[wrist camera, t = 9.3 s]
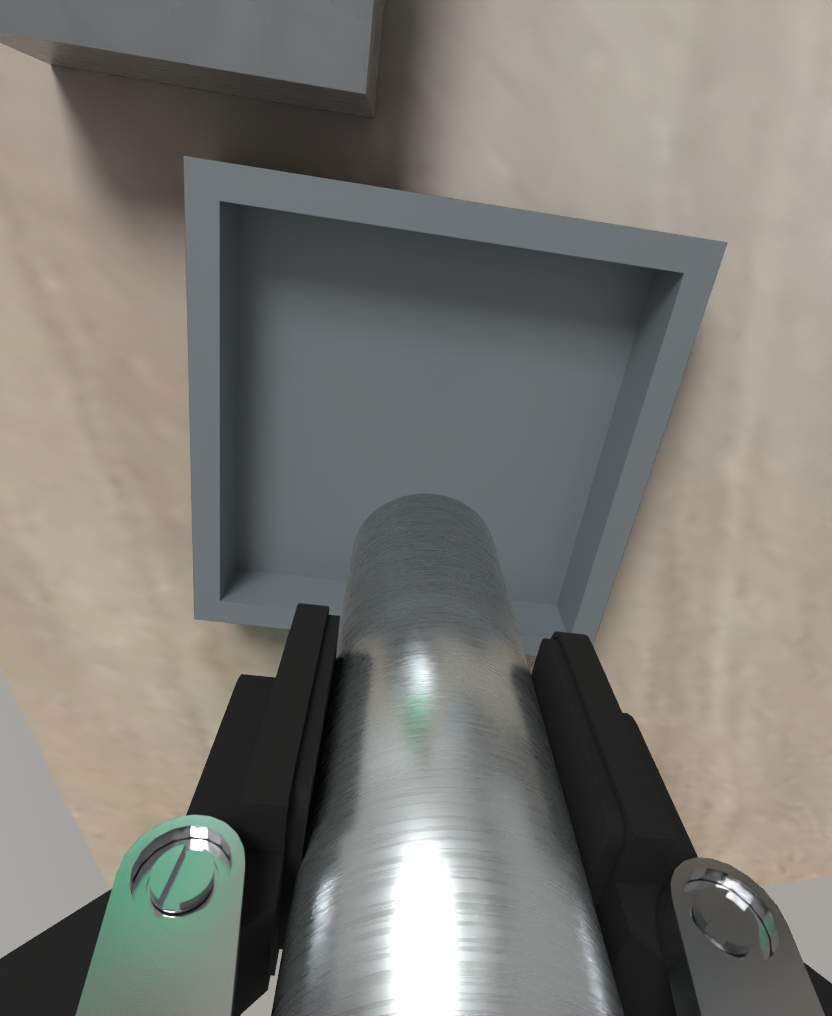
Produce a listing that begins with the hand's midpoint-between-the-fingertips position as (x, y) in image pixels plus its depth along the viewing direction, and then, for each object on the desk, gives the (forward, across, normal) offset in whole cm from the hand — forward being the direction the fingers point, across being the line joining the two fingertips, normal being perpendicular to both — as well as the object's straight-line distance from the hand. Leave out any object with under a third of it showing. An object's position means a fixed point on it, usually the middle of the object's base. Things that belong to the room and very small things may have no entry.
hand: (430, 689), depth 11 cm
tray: (+14, 0, 0) cm, 14 cm away
